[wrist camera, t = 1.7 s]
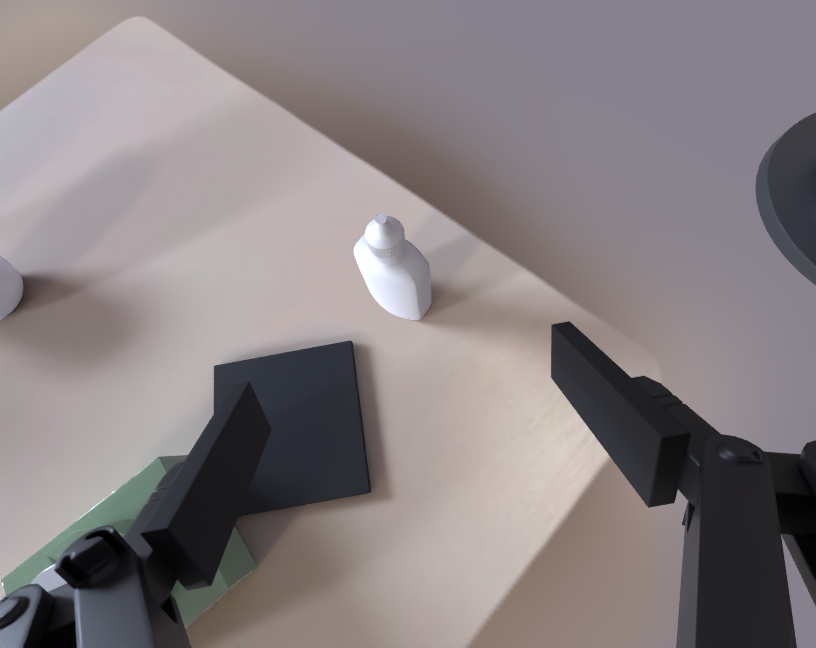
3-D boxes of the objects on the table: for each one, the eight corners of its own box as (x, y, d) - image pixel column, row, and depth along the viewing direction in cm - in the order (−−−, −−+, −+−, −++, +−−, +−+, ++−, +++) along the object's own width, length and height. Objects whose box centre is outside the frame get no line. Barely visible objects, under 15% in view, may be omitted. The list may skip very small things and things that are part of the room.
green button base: (194, 454, 29) (136, 457, 23) (258, 566, 26) (209, 601, 21) (60, 560, 27) (-38, 592, 22) (113, 693, 25) (16, 769, 19)
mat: (352, 342, 31) (351, 340, 30) (371, 491, 27) (369, 492, 27) (217, 366, 31) (213, 365, 31) (217, 519, 27) (212, 520, 27)
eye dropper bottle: (407, 262, 33) (392, 168, 22) (437, 312, 31) (437, 239, 20) (365, 283, 33) (327, 199, 21) (392, 335, 31) (367, 274, 20)
